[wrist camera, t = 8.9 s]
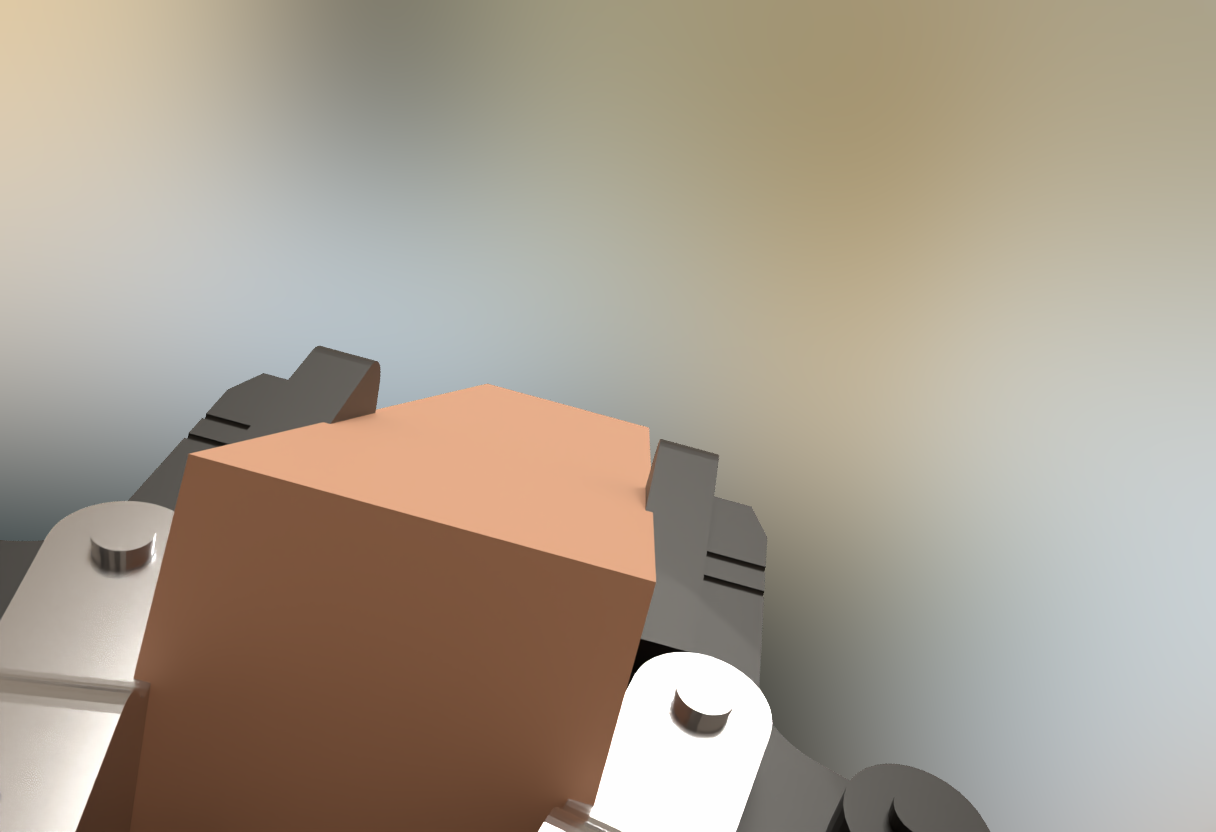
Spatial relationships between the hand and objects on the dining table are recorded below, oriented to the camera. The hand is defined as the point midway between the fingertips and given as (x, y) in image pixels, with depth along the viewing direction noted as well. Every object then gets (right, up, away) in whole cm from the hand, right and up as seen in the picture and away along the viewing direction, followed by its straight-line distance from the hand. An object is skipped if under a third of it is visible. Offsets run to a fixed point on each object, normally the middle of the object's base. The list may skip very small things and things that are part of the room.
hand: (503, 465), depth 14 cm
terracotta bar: (-1, -3, +3) cm, 4 cm away
